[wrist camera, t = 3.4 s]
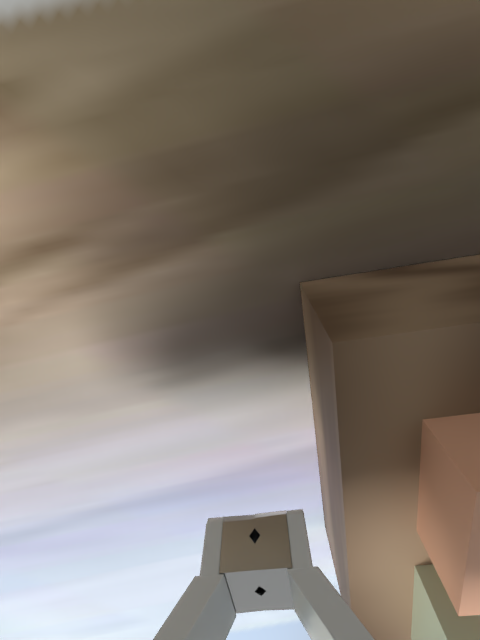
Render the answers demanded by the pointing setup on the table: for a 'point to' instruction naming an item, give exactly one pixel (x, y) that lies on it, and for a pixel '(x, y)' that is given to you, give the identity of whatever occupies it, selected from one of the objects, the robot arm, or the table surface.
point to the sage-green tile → (438, 611)
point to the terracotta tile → (452, 505)
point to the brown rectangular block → (386, 416)
